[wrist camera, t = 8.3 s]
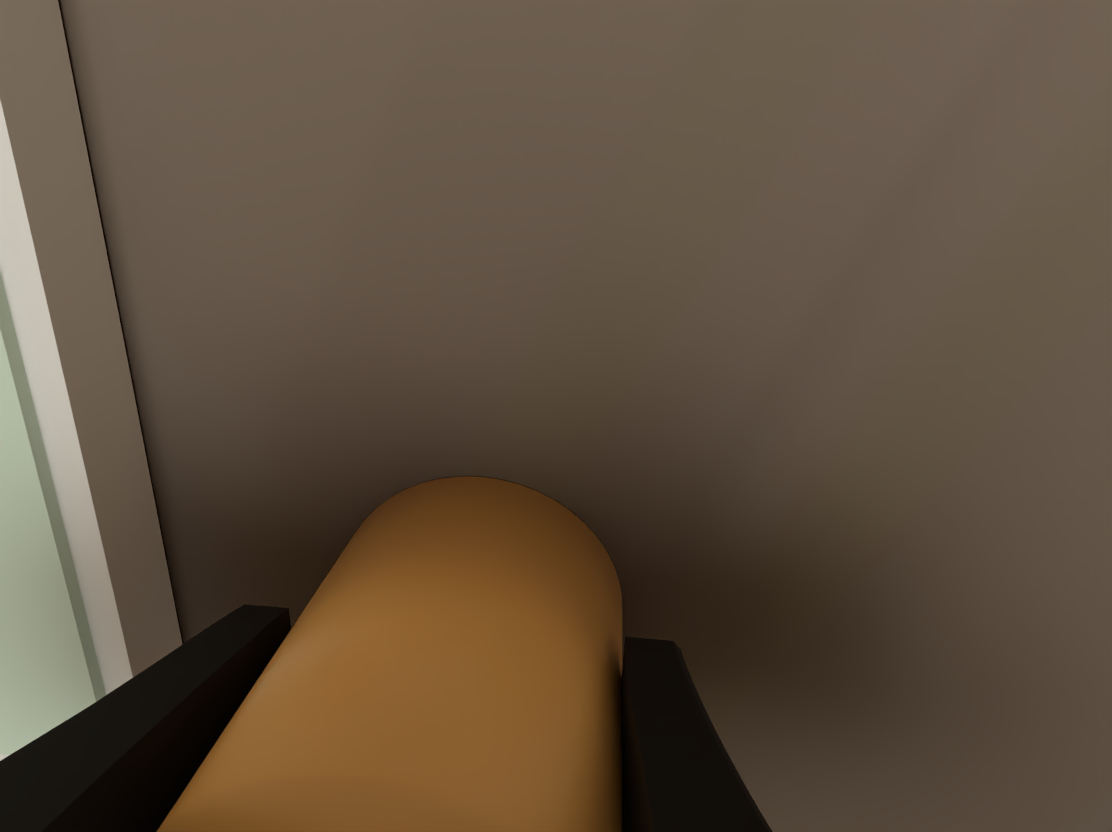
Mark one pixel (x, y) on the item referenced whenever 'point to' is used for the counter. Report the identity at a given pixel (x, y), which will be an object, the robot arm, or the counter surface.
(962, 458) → the counter surface
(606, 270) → the counter surface
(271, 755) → the cap
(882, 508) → the counter surface
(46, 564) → the panel
